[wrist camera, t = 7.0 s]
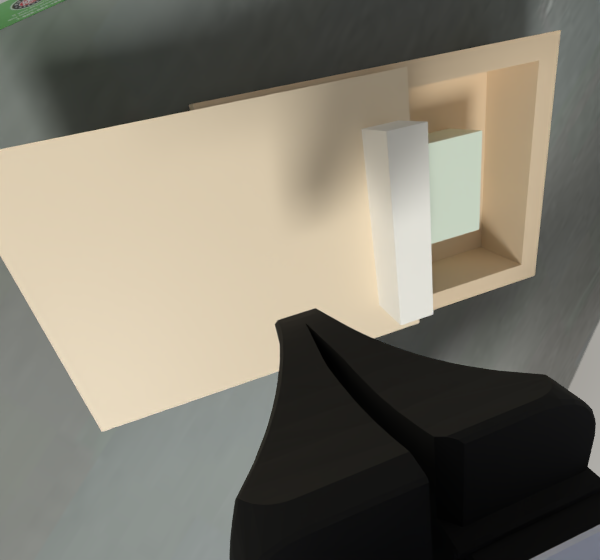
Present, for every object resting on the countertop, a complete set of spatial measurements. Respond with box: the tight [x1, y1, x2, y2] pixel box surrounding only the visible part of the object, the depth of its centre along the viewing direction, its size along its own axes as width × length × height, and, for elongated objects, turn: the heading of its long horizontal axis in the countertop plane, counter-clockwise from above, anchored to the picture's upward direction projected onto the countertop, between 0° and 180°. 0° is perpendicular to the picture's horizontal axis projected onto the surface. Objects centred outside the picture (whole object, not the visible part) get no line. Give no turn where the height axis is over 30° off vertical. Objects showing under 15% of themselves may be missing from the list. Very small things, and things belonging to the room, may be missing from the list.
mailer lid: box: [0, 67, 433, 432], centre depth 15 cm, size 12×16×3 cm
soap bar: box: [428, 128, 482, 244], centre depth 20 cm, size 5×4×2 cm
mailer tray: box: [189, 30, 561, 310], centre depth 20 cm, size 12×16×4 cm
